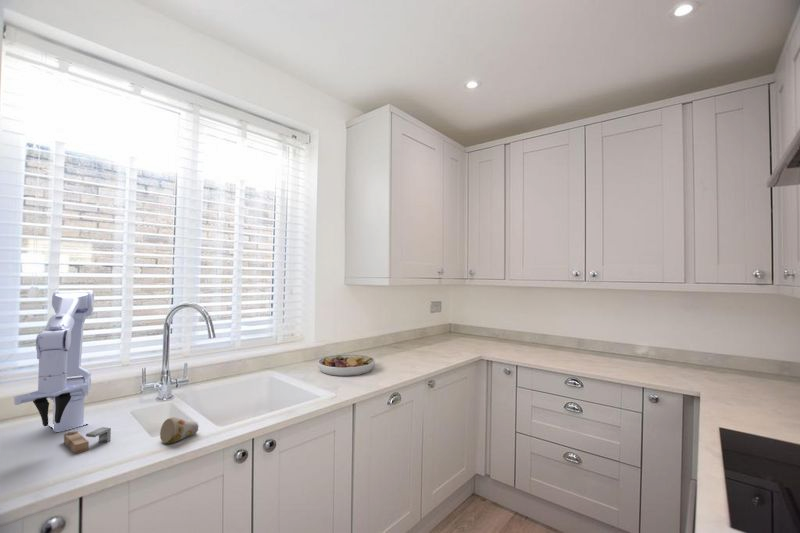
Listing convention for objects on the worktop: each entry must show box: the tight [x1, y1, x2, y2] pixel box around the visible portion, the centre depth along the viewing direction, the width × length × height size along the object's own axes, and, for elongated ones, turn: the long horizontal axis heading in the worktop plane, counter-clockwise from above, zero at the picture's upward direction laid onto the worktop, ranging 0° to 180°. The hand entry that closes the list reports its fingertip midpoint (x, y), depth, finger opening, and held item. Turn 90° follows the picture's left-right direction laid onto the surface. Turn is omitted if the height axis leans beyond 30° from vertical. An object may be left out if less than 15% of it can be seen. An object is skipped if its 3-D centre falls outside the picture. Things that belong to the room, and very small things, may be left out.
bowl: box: [317, 354, 376, 377], centre depth 195 cm, size 30×30×8 cm
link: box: [63, 429, 90, 455], centre depth 106 cm, size 12×3×3 cm, turn 54°
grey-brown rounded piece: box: [159, 417, 199, 444], centre depth 112 cm, size 8×10×10 cm
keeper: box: [85, 426, 112, 443], centre depth 108 cm, size 3×5×4 cm, turn 169°
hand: (51, 423), depth 102 cm, fingers closed
